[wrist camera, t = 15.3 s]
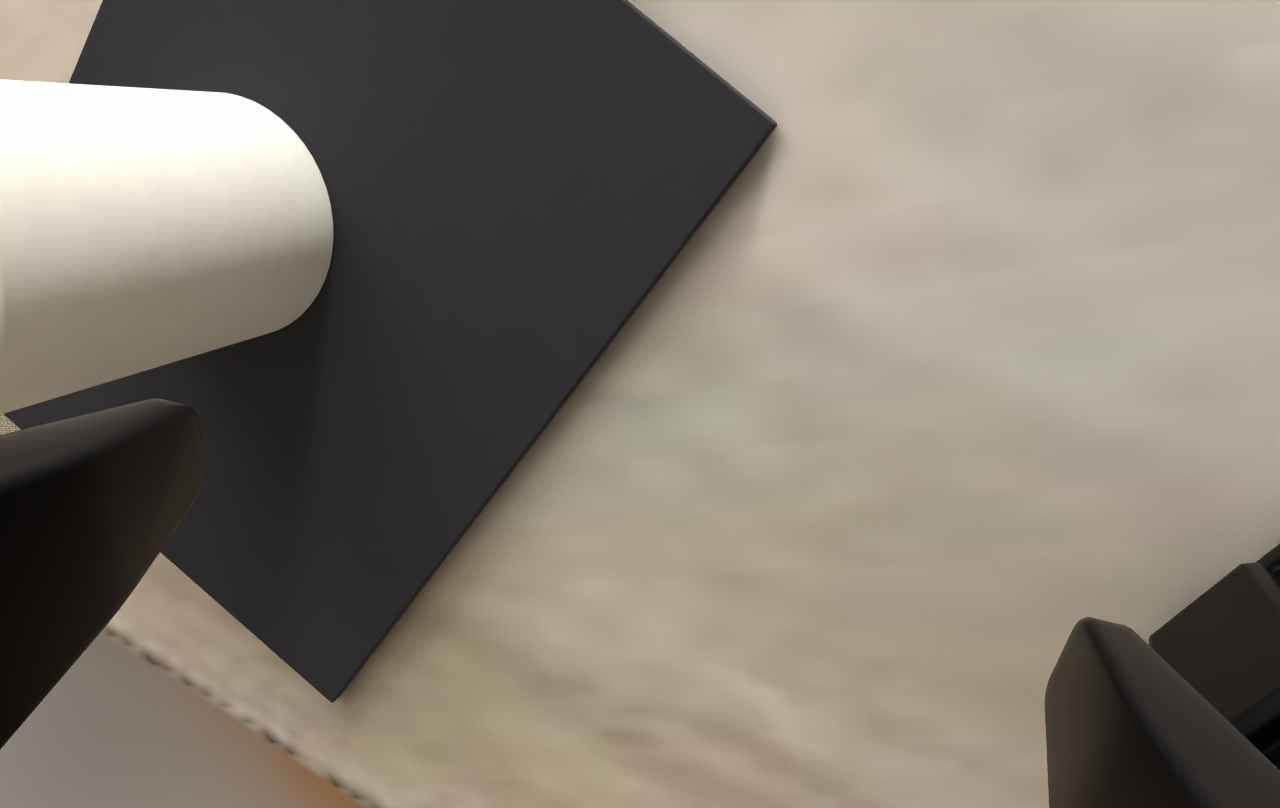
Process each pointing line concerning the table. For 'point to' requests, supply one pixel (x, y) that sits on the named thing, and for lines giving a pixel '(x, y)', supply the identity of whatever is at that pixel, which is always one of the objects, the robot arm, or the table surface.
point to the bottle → (146, 231)
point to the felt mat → (416, 276)
